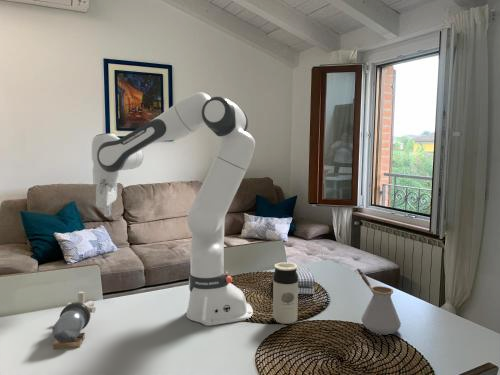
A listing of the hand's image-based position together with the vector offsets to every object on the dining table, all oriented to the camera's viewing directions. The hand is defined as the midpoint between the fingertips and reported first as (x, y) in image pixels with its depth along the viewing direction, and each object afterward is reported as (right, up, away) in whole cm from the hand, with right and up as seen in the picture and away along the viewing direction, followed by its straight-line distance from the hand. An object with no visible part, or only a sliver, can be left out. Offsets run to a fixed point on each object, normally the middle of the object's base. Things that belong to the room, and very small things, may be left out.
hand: (107, 216), depth 142 cm
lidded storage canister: (0, -34, -29) cm, 45 cm away
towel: (+70, -31, +14) cm, 77 cm away
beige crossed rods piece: (-2, -33, -19) cm, 38 cm away
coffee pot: (+92, -33, -18) cm, 99 cm away
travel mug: (+64, -33, -15) cm, 73 cm away
